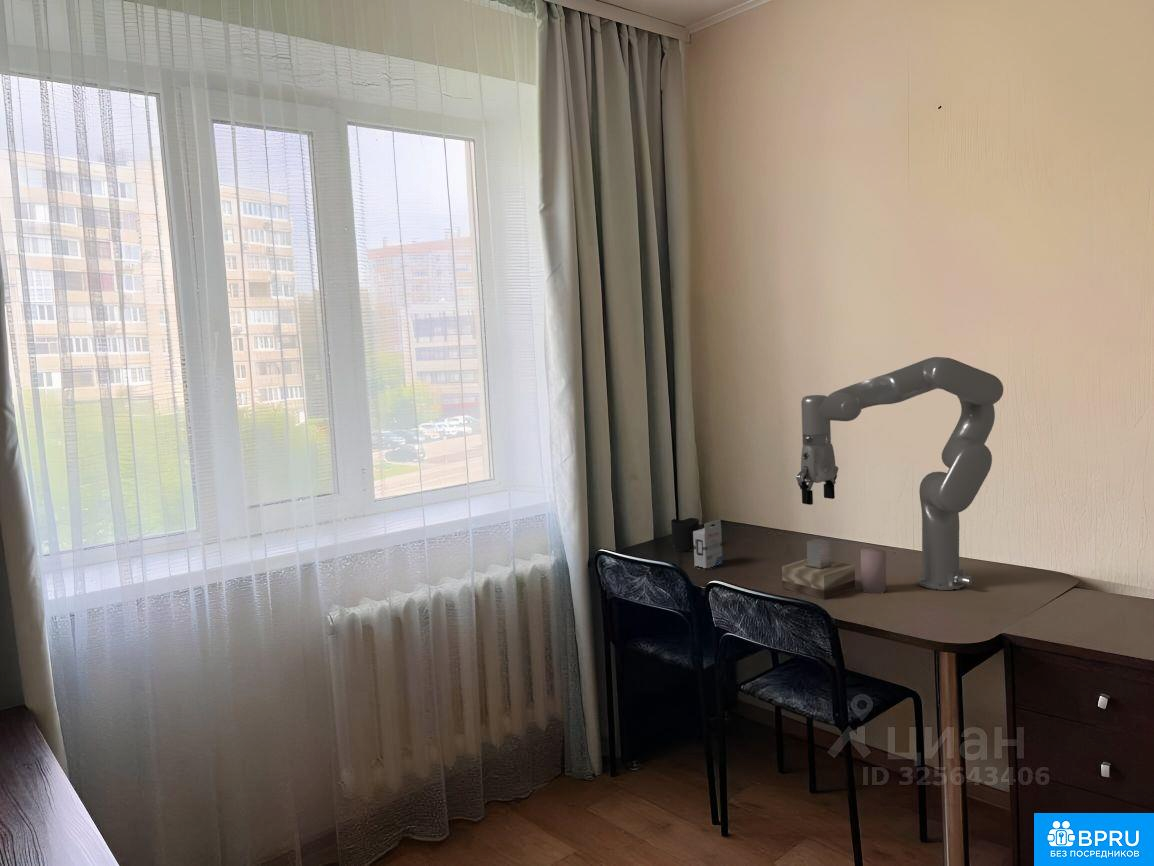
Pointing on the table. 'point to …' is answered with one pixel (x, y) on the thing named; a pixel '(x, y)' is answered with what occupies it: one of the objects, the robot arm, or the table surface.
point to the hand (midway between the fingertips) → (818, 501)
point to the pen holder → (684, 533)
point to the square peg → (818, 554)
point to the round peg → (873, 570)
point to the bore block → (818, 579)
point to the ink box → (708, 545)
